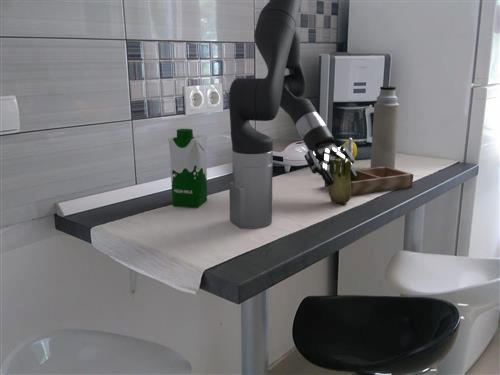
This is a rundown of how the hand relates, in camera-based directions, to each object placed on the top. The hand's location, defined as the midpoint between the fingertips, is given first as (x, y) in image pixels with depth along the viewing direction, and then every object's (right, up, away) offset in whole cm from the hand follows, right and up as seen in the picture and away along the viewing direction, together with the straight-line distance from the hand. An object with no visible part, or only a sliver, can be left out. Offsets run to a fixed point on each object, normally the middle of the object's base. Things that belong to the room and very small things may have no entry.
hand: (343, 181), depth 131 cm
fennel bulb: (-1, -6, +2) cm, 6 cm away
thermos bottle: (+21, +4, +39) cm, 45 cm away
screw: (+7, +1, +29) cm, 30 cm away
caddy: (+11, -1, +17) cm, 20 cm away
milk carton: (-40, -6, +2) cm, 41 cm away
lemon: (+12, +8, +52) cm, 54 cm away
